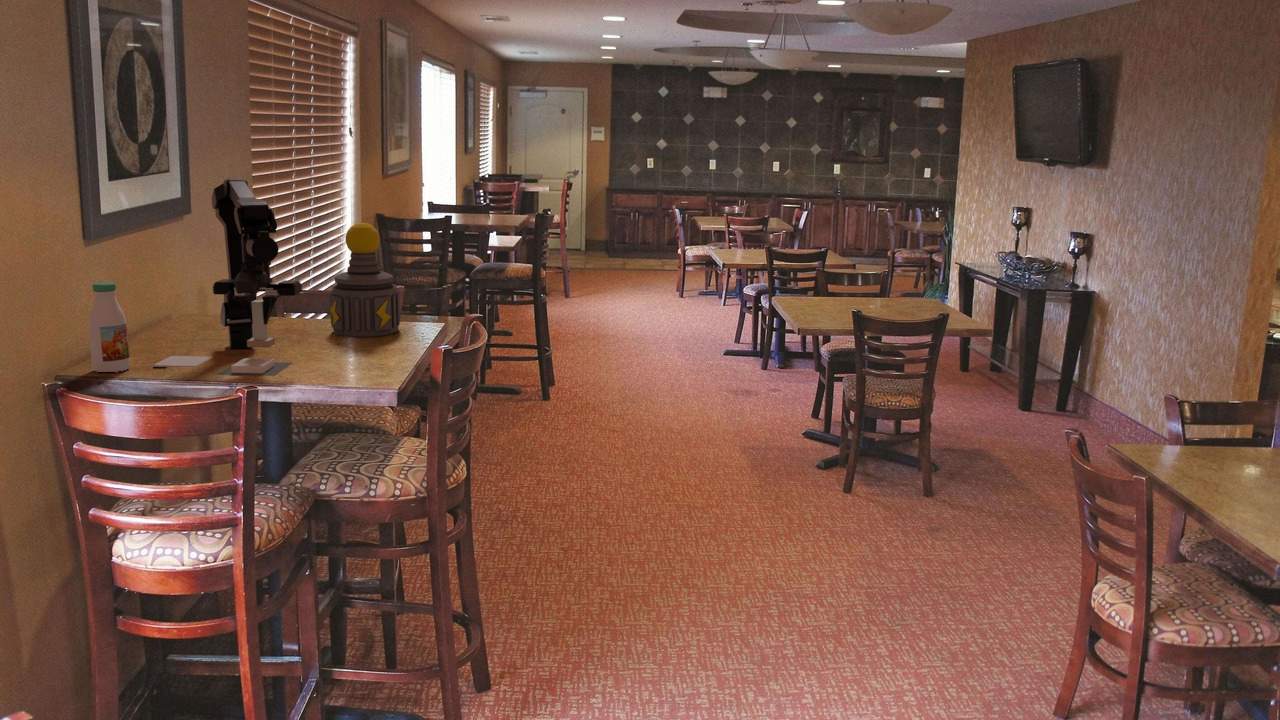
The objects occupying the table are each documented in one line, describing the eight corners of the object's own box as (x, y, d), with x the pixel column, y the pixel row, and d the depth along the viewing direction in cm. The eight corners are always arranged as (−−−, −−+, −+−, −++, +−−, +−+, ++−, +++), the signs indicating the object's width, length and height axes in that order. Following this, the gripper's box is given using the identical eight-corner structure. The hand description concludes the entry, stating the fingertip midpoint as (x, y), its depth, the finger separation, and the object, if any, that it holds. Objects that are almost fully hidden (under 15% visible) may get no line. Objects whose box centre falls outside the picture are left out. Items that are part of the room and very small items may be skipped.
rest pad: (171, 358, 249) (171, 355, 249) (213, 359, 249) (213, 356, 249) (152, 367, 239) (152, 365, 239) (196, 368, 239) (196, 366, 239)
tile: (244, 358, 241) (231, 365, 233) (274, 358, 241) (262, 366, 233) (244, 365, 241) (231, 373, 233) (274, 366, 241) (262, 374, 233)
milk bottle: (89, 374, 232) (80, 286, 227) (96, 367, 239) (88, 281, 234) (127, 373, 234) (119, 285, 229) (133, 365, 241) (125, 280, 237)
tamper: (253, 343, 244) (250, 299, 241) (274, 343, 244) (272, 299, 241) (247, 347, 240) (244, 302, 237) (268, 347, 240) (266, 302, 237)
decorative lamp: (354, 341, 273) (349, 227, 267) (317, 330, 286) (312, 221, 279) (414, 332, 287) (411, 223, 280) (377, 322, 299) (373, 218, 293)
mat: (238, 363, 245) (238, 361, 245) (293, 364, 245) (293, 362, 245) (216, 376, 233) (216, 374, 232) (274, 377, 233) (274, 375, 233)
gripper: (200, 260, 229) (205, 330, 233) (285, 262, 229) (288, 331, 233) (220, 255, 240) (224, 321, 243) (300, 256, 240) (304, 322, 244)
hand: (259, 324), depth 241 cm, fingers closed on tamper, 2 cm apart
